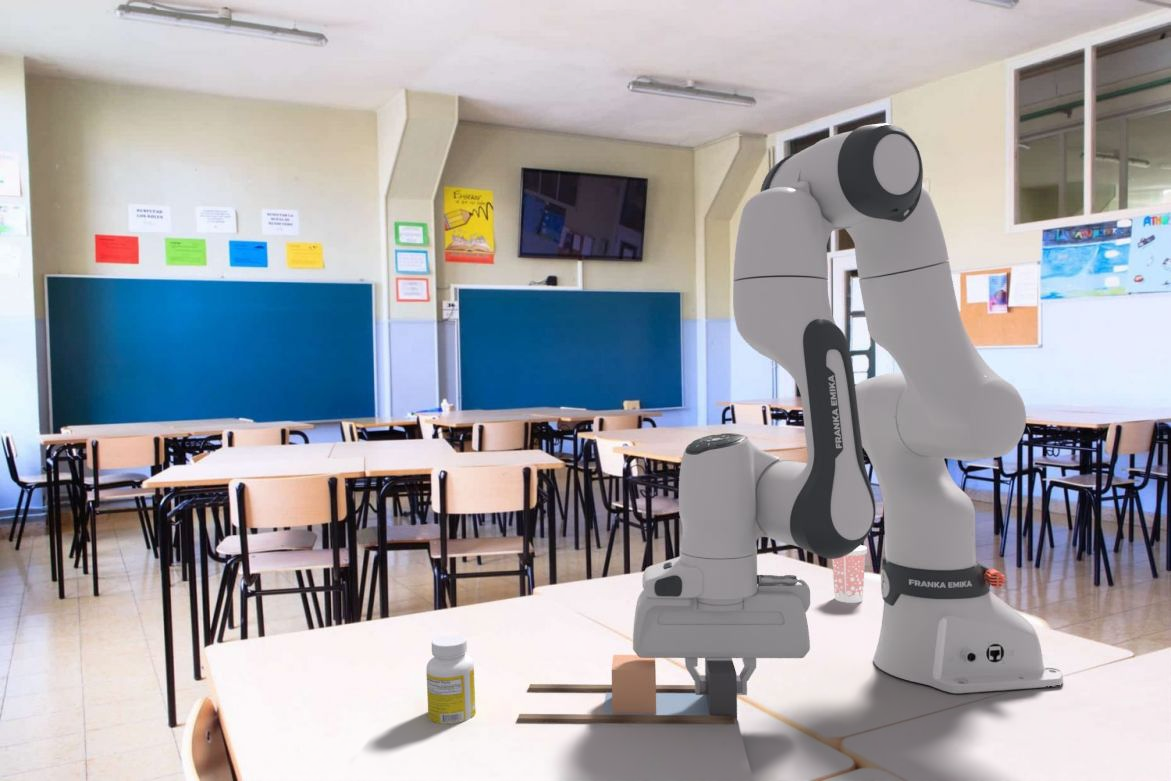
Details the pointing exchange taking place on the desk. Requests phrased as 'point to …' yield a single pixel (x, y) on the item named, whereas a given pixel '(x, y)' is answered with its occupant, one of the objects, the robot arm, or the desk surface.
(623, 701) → the terracotta cube
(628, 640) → the desk surface
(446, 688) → the supplement bottle
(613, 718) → the guide rails
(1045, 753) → the desk surface
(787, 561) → the desk surface
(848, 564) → the beverage cup
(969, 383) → the robot arm
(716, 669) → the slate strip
